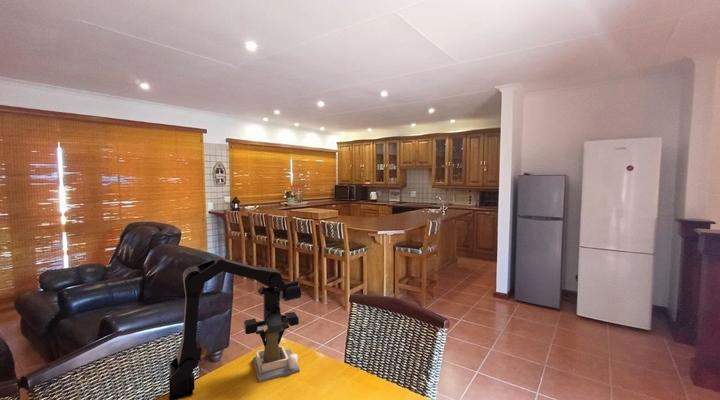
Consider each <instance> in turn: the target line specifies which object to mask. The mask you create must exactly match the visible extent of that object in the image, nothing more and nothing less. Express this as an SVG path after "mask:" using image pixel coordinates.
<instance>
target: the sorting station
mask: <svg viewBox="0 0 720 400" xmlns="http://www.w3.org/2000/svg"><path fill="white" fill-rule="evenodd" d="M264 349H265V348H263V349H260V350H256V351H255V356H254V357H252V362H253V365H254V370H255V373H256V377H257V381H258V383H260V382H264V381H268V380H273V379H276V378H280V377H285V376H288V375H292V374H295V373H296V374H297V373H300V372H301V370H300V367H299V365H298V364H299V363H298V362H299V360H298V359H299V355H298V354H296V353H292V350H291V348H289V349H285V347H284V345H279V352H280V359H279V360H277V361H273V362H269V363H267V362H265V361H264V360H263V356H264Z"/></svg>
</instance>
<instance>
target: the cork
mask: <svg viewBox="0 0 720 400" xmlns="http://www.w3.org/2000/svg"><path fill="white" fill-rule="evenodd" d="M264 332H265V341H266V347H264V348H263V349H264V356H263V360H264V361H265V362H267V363H269V362H273V361H277V360H279V359H280V352H279V346H280V345H279V344H278V336H279V332H273V333H269V332H268V328H266V329H265V330H264Z"/></svg>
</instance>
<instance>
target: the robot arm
mask: <svg viewBox="0 0 720 400" xmlns="http://www.w3.org/2000/svg"><path fill="white" fill-rule="evenodd" d="M222 272H223V273H227V274H230V275H236V276H240V277H243V278H247V279H251V280H255V281H257V282H259V283H261V284H262V285H261V287H260V288H258V289H257V293H258V294H259V295H260V296H263V320H261V321H257V320H256V318H251V319H245V320H244V322H243V328H244V334H246V335H252V334H256V335H259V336H260V338H261V340H262V344H263V346H264V348H265V347H266V339H265V329H264V327H267V328H266V329H268V332H269V333H273V332H279V336H278V345H279V344H280V342H281V341H282V337H283V335H284V333H285V331H286V330H287V329H290V327H293V326H298V325H299V324H300V318H299V316H298V315H297V313H296V312H295V311H292V312H291V311H290V312H285V313H284V315H283V314H282V313H281V306H280V305H281V304H280V303H281V300H283V301H284V302H289V301H293V300H299V299H301V297H302V290H301V286H300V285H299V284H300V283H299V281H298V280H297V279H296V280H292V281H287V282H285V281H284V280H282V279H283V277H282V274H281V273H280V272H279V271H278V270H276V268H273V267H268V266H260V267H259V266H258V267H257V266H253V265H249V264H246V263H241V262H239V261H234V260H230V259H227V258H224V257H222V256H218V257H216V258H214V259H212V260H209V261H206V262H202V263H200V264H198V265H196V266H195V265H193V266H189V267H187V268H186V269H185V270H184V271H183V273H182V280H183V289H184V294H185V301H184V313H183V326H182V327H183V328H182V338H181V341H180V344H179V346H178V349H177V354H176V357H174V358H173V359H172V361H171V362H170V363H169V377H168V382H169V383H168V384H169V387H168V388H169V390H168V391H169V395H168V400H180V399H184V398H188V397H192V395H194V390H195V372H193V371H194V370H195V369H196V368H198V367H199V363H200V362H201V361H202V357H201V354H202V351H203V347H202V344H201V340H200V339H199V340H197V332H198V321H199V320H198V319H199V318H198V317H199V315H198V314H199V306H200V304H199V302H200V297H201V294H202V293H203V290H204V286H205V283H207V282H208V281H210V280H212V279H213V278H215V277H216V276H217V275H219V274H220V273H222ZM265 286H266V287H265Z"/></svg>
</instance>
